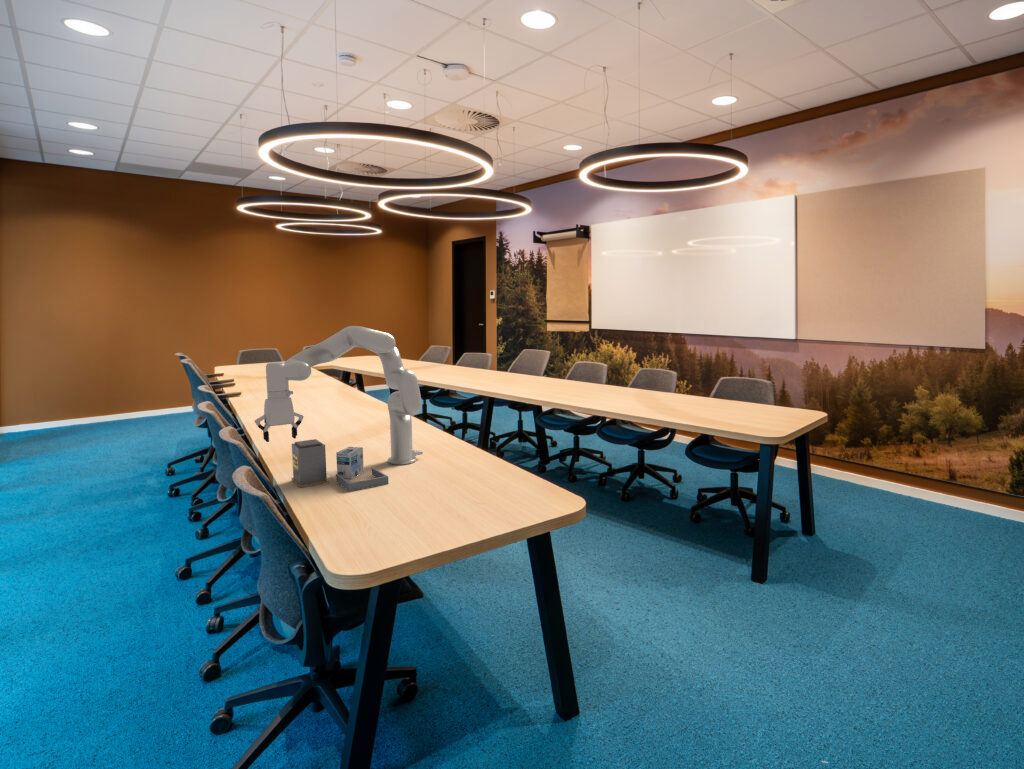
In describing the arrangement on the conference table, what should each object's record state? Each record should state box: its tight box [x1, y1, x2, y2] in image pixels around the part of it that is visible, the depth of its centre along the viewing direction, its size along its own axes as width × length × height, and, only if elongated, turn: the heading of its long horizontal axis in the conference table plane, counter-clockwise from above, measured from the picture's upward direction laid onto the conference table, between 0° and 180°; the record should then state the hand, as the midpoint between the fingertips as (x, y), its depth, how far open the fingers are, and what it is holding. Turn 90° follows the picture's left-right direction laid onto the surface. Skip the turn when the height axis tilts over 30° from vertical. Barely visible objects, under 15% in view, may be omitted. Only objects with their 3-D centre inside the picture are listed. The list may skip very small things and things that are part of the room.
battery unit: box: [290, 438, 330, 489], centre depth 212 cm, size 11×12×16 cm
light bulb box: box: [335, 446, 365, 480], centre depth 220 cm, size 11×7×11 cm, turn 168°
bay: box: [335, 467, 389, 492], centre depth 211 cm, size 16×15×3 cm
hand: (280, 439), depth 204 cm, fingers open, 9 cm apart
